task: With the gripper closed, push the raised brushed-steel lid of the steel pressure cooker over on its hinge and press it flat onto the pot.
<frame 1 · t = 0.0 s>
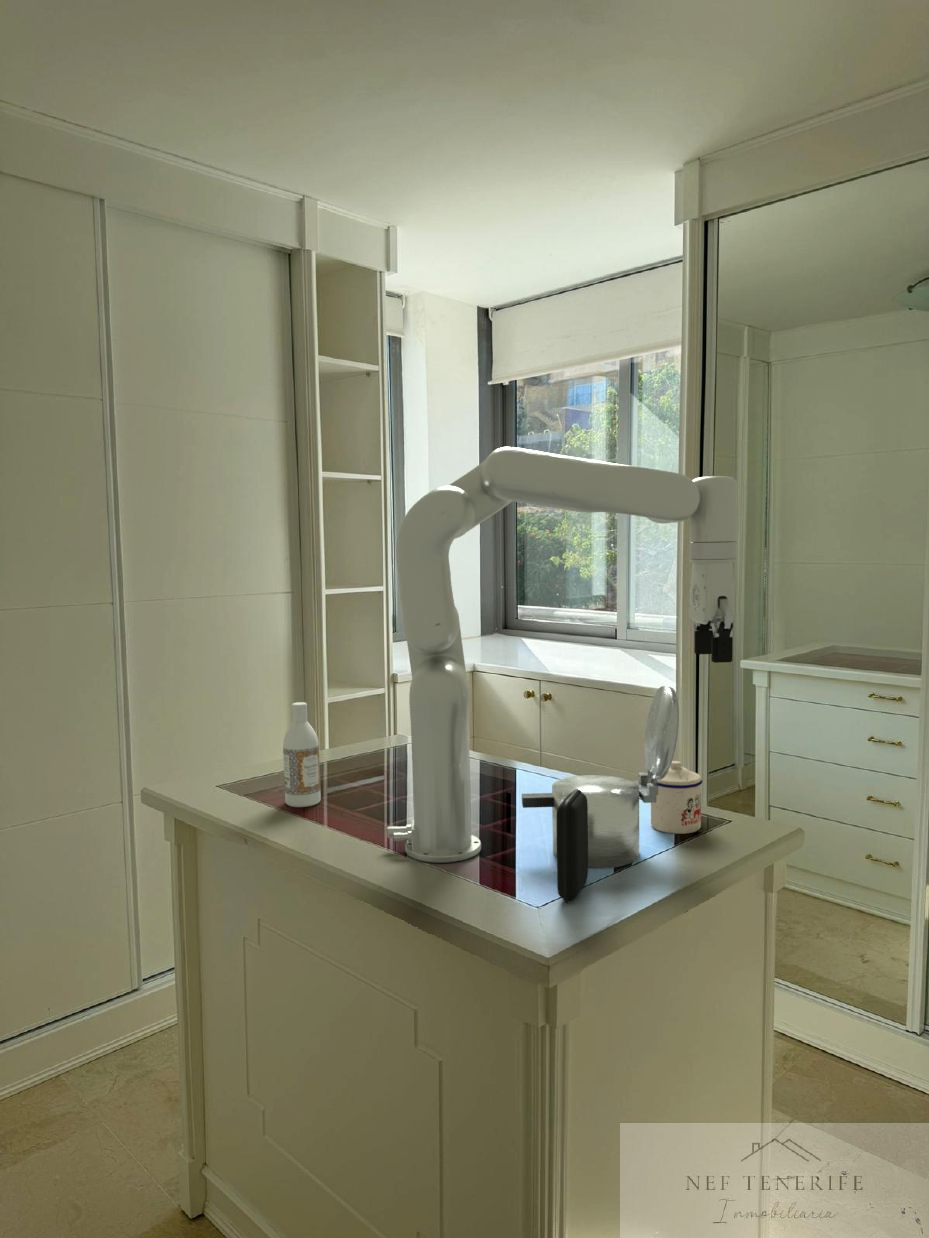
hand: (712, 657, 146), 31 cm above the table, tool pointing down, fingers open, 9 cm apart
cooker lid: (666, 736, 144), point 19 cm above the table, hinge at 100.0°
bath foam: (303, 803, 177), on the table
teacup with lid: (678, 825, 159), on the table
carrying case or bag: (574, 893, 130), on the table
cooker pot: (595, 852, 146), on the table
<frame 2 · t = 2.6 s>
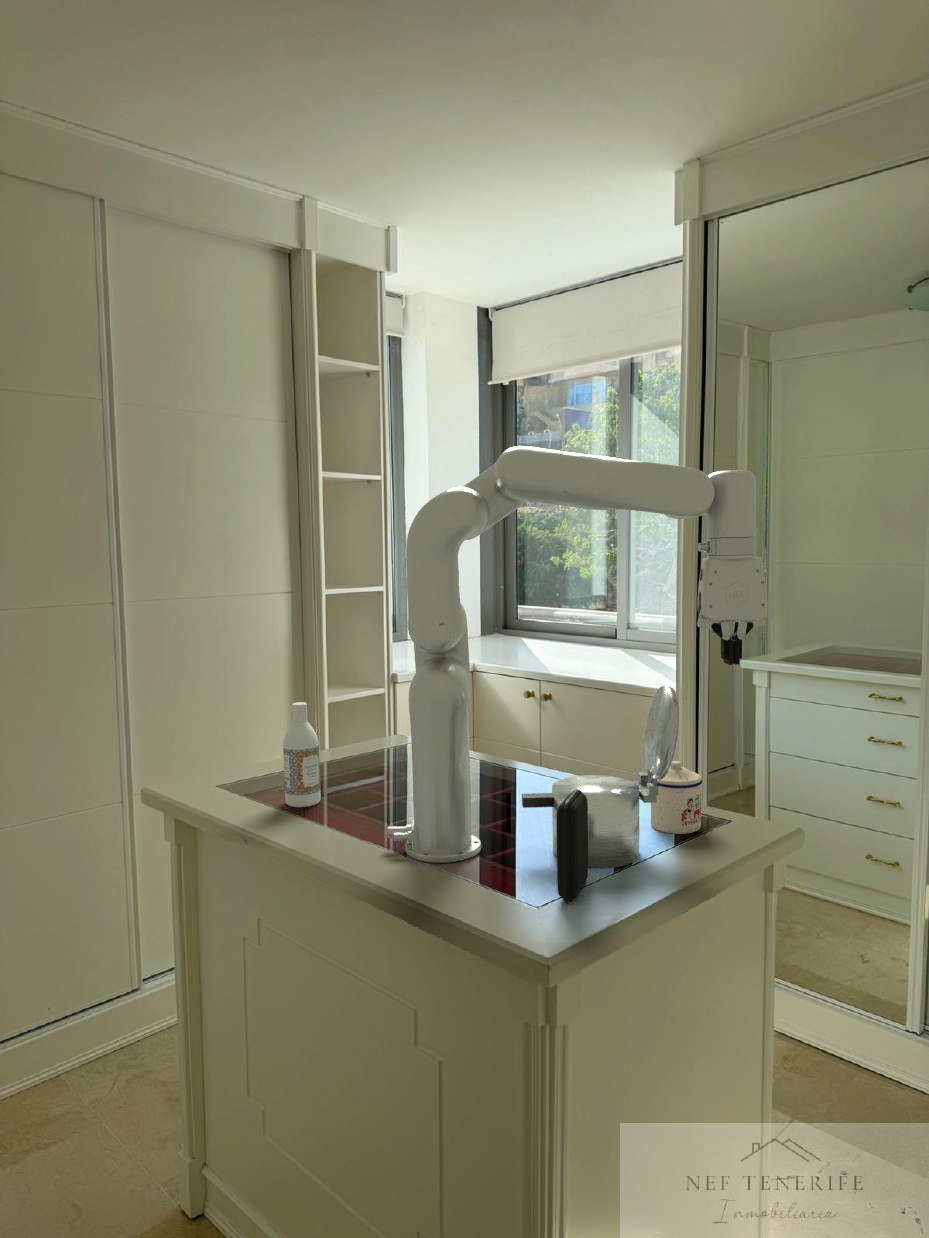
hand: (731, 663, 143), 31 cm above the table, tool pointing down, fingers closed
nothing on the table moved.
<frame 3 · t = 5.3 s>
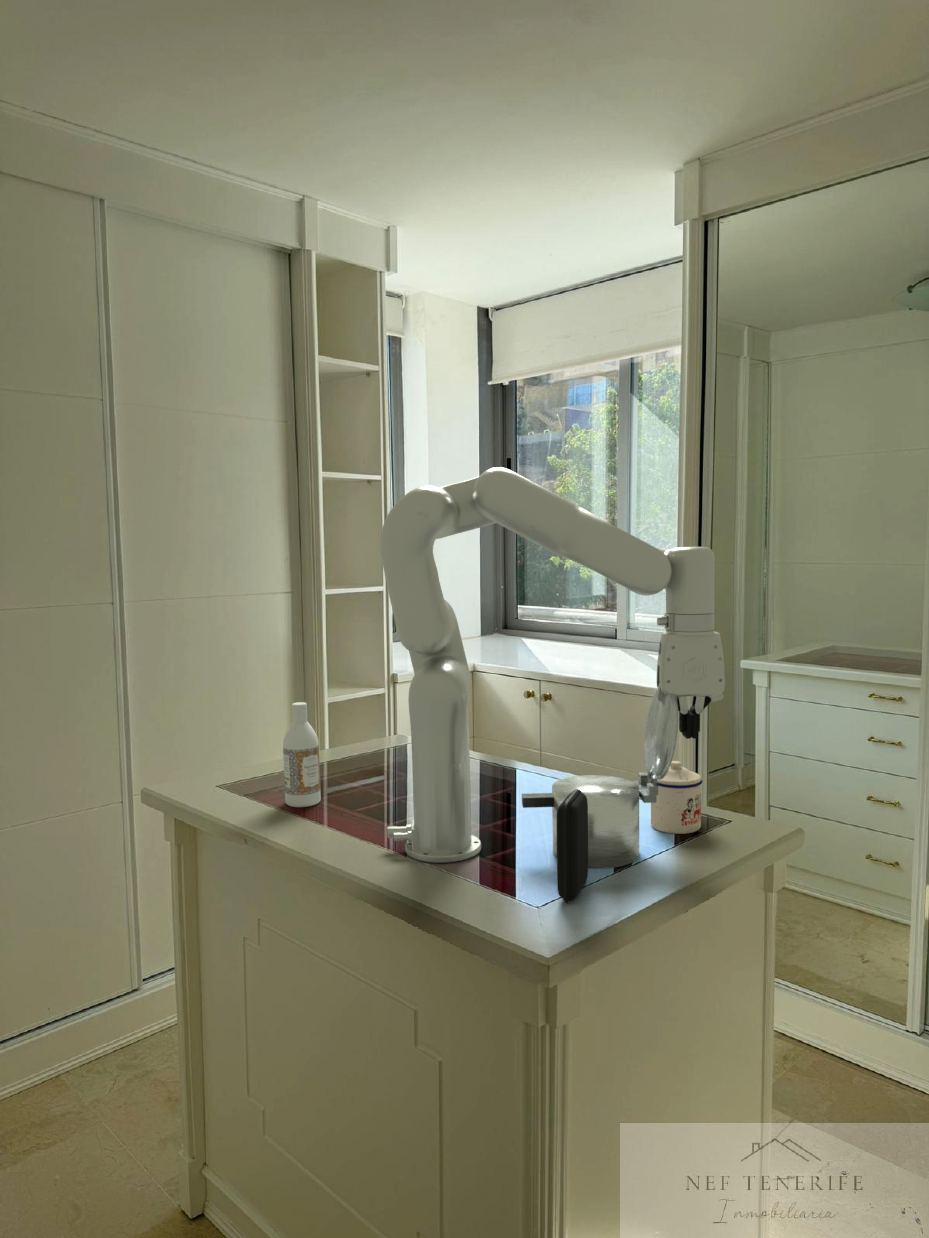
hand: (689, 736, 144), 19 cm above the table, tool pointing down, fingers closed
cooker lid: (665, 736, 144), point 19 cm above the table, hinge at 99.6°, touching gripper
everything else where it was.
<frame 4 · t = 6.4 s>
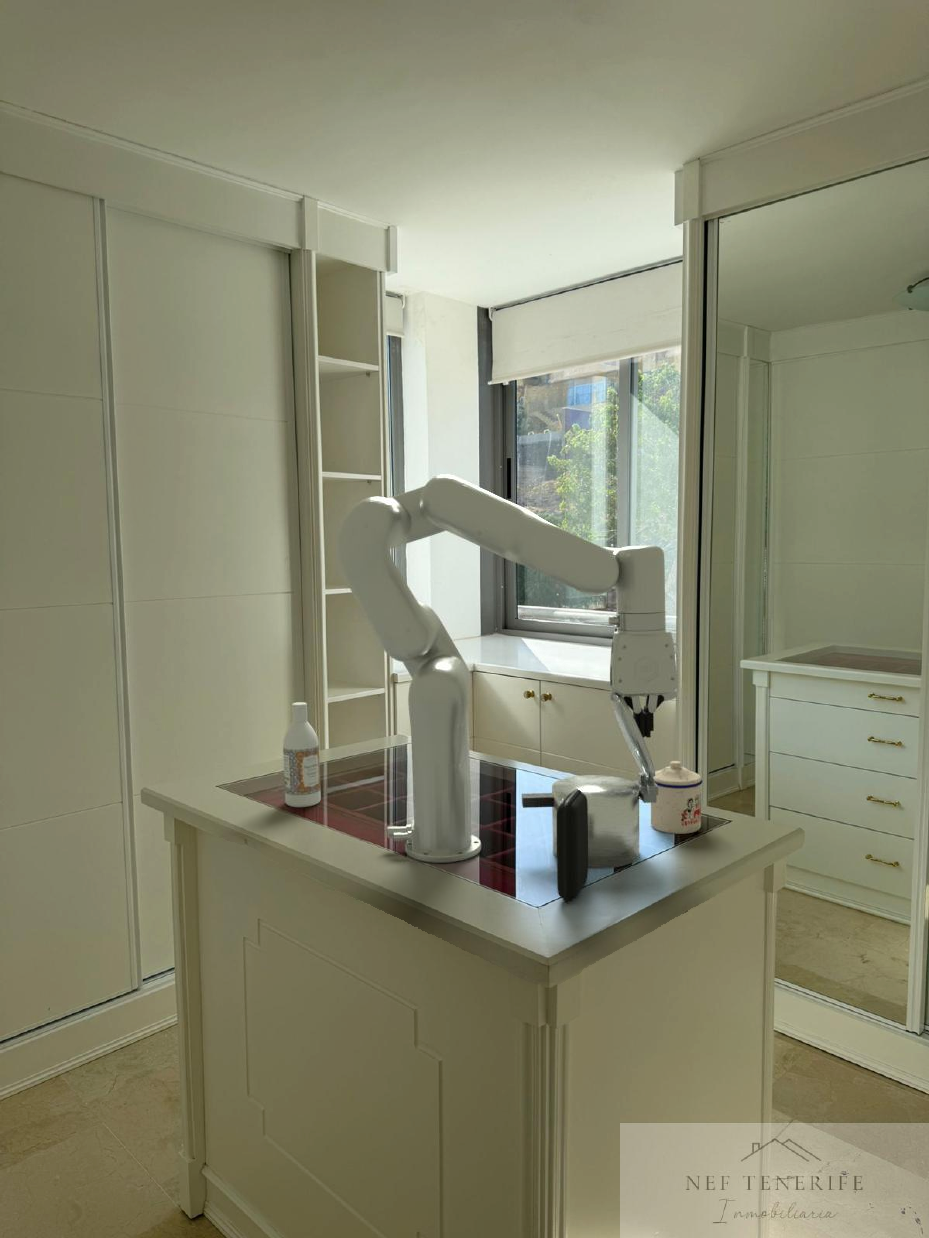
hand: (643, 735, 144), 19 cm above the table, tool pointing down, fingers closed
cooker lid: (638, 734, 144), point 19 cm above the table, hinge at 68.3°, touching gripper
everything else where it was.
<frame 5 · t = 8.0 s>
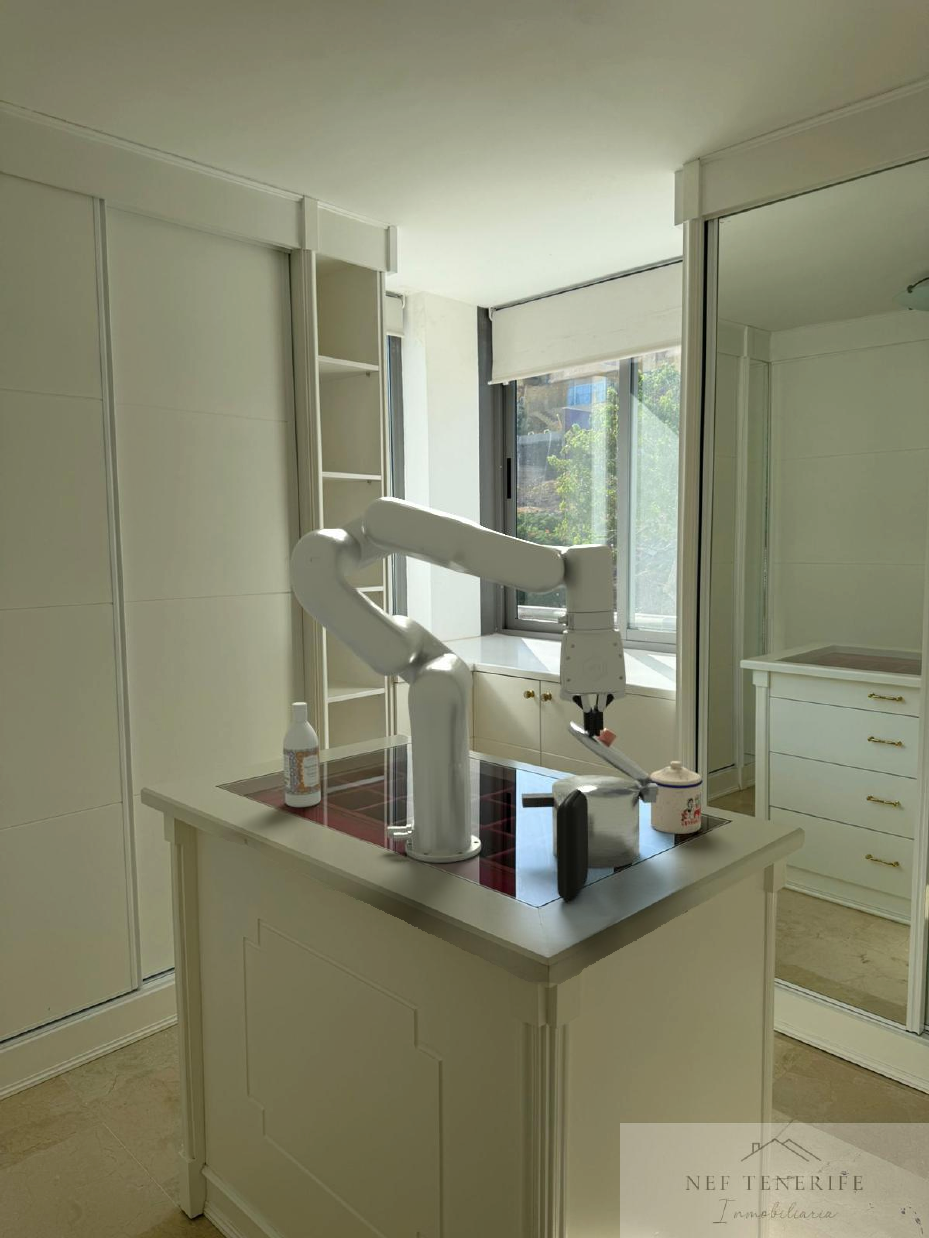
hand: (593, 734, 144), 20 cm above the table, tool pointing down, fingers closed
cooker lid: (613, 748, 144), point 17 cm above the table, hinge at 35.6°, touching gripper
everything else where it was.
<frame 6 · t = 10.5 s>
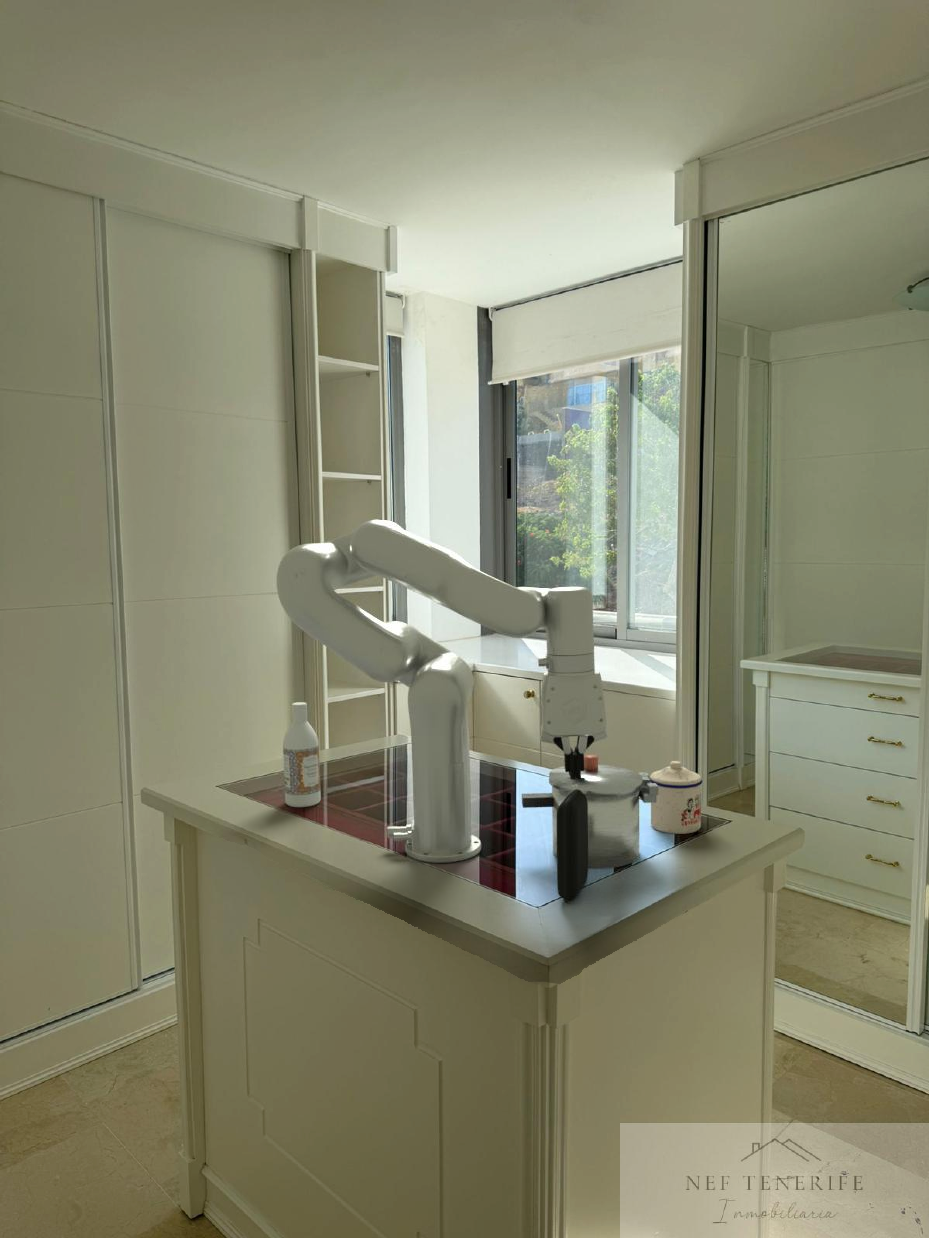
hand: (574, 775, 144), 13 cm above the table, tool pointing down, fingers closed
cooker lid: (598, 773, 145), point 13 cm above the table, hinge at 1.9°, touching gripper
everything else where it was.
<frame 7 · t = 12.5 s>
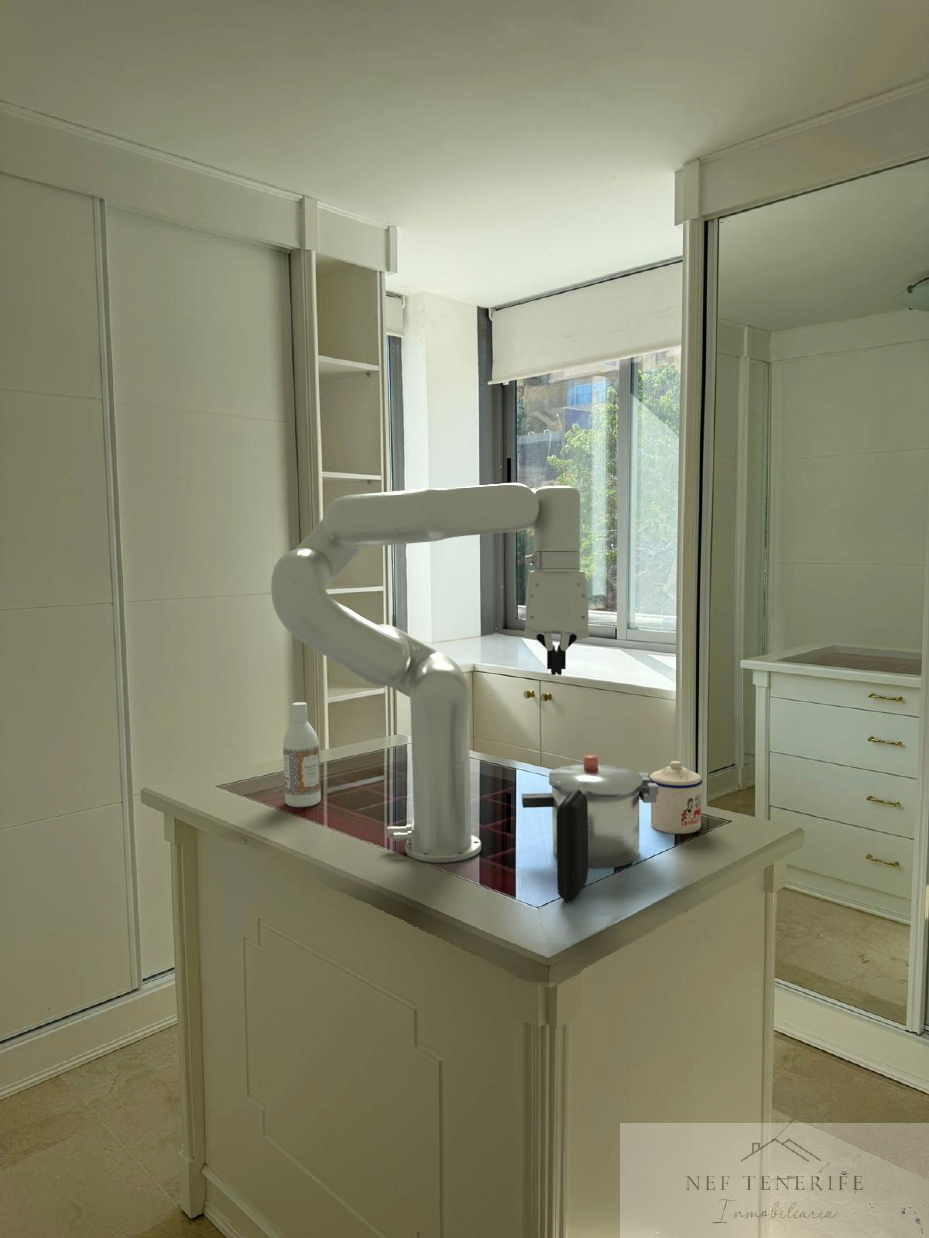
hand: (556, 673, 147), 29 cm above the table, tool pointing down, fingers closed
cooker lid: (598, 773, 145), point 13 cm above the table, hinge at 1.6°
everything else where it was.
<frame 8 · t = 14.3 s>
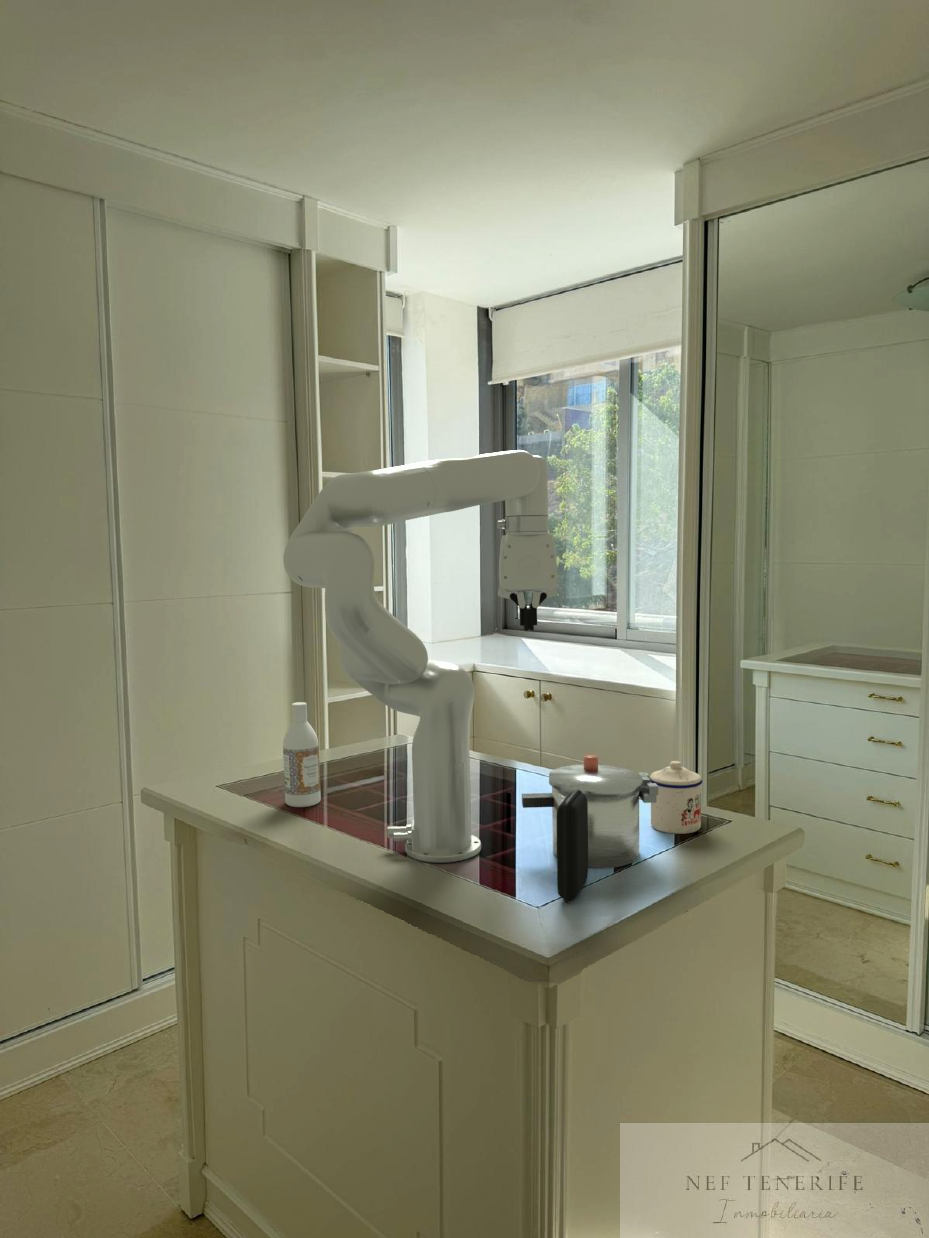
hand: (528, 629, 159), 35 cm above the table, tool pointing down, fingers closed
nothing on the table moved.
at the end: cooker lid at +2° (first picture: +100°); teacup with lid moved 0.2 cm from its start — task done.
